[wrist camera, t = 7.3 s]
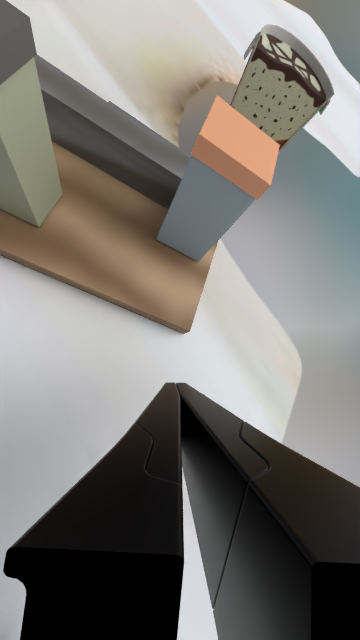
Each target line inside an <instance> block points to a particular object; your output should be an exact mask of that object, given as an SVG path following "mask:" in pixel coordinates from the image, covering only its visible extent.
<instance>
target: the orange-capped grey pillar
mask: <svg viewBox="0 0 360 640" xmlns="http://www.w3.org/2000/svg"><path fill="white" fill-rule="evenodd" d="M279 147H280V145H279V144H278V143H277V142H275V141H274V140H273V139H272V138H270V137H269V136H268V135H267V134H265V133H264V132H263V131H262V130H260V129H259V128H258V127H256V126H255V125H254V124H253V123H251V122H250V121H249V120H248V119H246V118H245V117H244V116H243V115H241V114H240V113H239V112H238V111H236V110H235V109H234V108H233V107H231V106H230V105H229V104H227V103H226V102H225V101H224V100H222V99H221V98H220V97H219V96H217V97H216V99H215V101H214V103H213V105H212V108H211V110H210V112H209V114H208V116H207V119H206V121H205V123H204V125H203V127H202V129H201V131H200V134H199V136H198V138H197V141H196V143H195V145H194V148H193V150H192V153H191V155H192V157H191V159H190V162H189V164H188V166H187V168H186V171H185V173H184V175H183V178H182V180H181V182H180V185H179V187H178V189H177V192H176V194H175V196H174V199H173V201H172V203H171V206H170V208H169V210H168V213H167V215H166V217H165V220H164V222H163V224H162V227H161V229H160V231H159V234H158V236H157V238H156V239H157V240H159V241H161V242H162V243H164V244H166V245H168V246H170V247H172V248H174V249H175V250H177V251H179V252H181V253H183V254H185V255H187V256H188V257H190V258H192V259H194V260H196V261H198V262H199V261H200V260H201V259H202V258H203V256H204V255H205V254H206V253H207V252H208V251H209V250H210V249H211V248H212V247H213V245H214V244H215V243H216V242H217V241H218V240H219V239H220V238H221V237H222V236H223V234H224V233H225V232H226V231H227V230H228V229H229V228H230V227H231V226H232V225H233V223H234V222H235V221H236V220H237V219H238V218H239V217H240V216H241V215H242V213H243V212H244V211H245V210H246V209H247V208H248V207H249V206H250V205H251V204H252V202H253V201H254V200H255V199H257V200H258V199H259V198H260V197H261V195H262V194H263V193H264V192H265V191H266V190H267V189H268V188H269V187H270V186H271V182H272V178H273V173H274V169H275V164H276V159H277V156H278V151H279Z"/></svg>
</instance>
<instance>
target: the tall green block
mask: <svg viewBox="0 0 360 640" xmlns="http://www.w3.org/2000/svg"><path fill="white" fill-rule="evenodd" d="M35 55H37V53H36V48H35V43H34V38H33V33H32V28H31V23H30V18H29V17H28V16H27V15H26V14H24V13H23V12H21V11H20V10H19V9H17V8H16V7H14V6H13V5H11V4H10V3H9V2H7V1H6V0H0V209H2V210H4V211H6V212H8V213H10V214H12V215H15V216H17V217H19V218H21V219H23V220H25V221H27V222H29V223H31V224H33V225H35V226H38V227H39V226H40V225H41V224H42V222H43V221H44V219H45V218H46V217H47V215H48V214H49V213H50V211H51V210H52V208H53V207H54V206H55V204H56V203H57V201H58V200H59V199H60V197H61V196H62V195H63V193H62V189H61V184H60V179H59V174H58V169H57V165H56V160H55V155H54V150H53V145H52V141H51V136H50V131H49V126H48V121H47V116H46V112H45V107H44V102H43V97H42V92H41V88H40V83H39V78H38V73H37V68H36V64H35V59H34V56H35Z"/></svg>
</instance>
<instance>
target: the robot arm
mask: <svg viewBox="0 0 360 640" xmlns="http://www.w3.org/2000/svg"><path fill="white" fill-rule="evenodd" d="M182 467H183V472H184V477H185V481H186V486H187V491H188V495H189V500H190V505H191V510H192V514H193V519H194V524H195V529H196V533H197V538H198V543H199V548H200V552H201V557H202V562H203V566H204V571H205V576H206V581H207V585H208V590H209V595H210V600H211V604H212V608H213V609H214V610H213V614H214V619H215V624H216V629H217V635H218V640H360V487H358V486H356V485H354V484H352V483H351V482H349V481H347V480H345V479H344V478H342V477H340V476H338V475H336V474H335V473H333V472H331V471H329V470H327V469H326V468H324V467H322V466H320V465H318V464H317V463H315V462H313V461H311V460H310V459H308V458H306V457H304V456H302V455H300V454H299V453H297V452H295V451H293V450H291V449H290V448H288V447H286V446H284V445H283V444H281V443H279V442H278V441H276V440H274V439H272V438H271V437H269V436H267V435H266V434H264V433H262V432H261V431H259V430H258V429H256V428H254V427H253V426H251V425H250V424H248V423H247V422H244V421H243V420H241V419H240V418H238V417H237V416H235V415H234V414H232V413H231V412H229V411H228V410H226V409H225V408H223V407H222V406H220V405H218V404H217V403H215V402H214V401H212V400H211V399H209V398H208V397H206V396H205V395H203V394H202V393H200V392H199V391H197V390H195V389H194V388H192V387H191V386H189V385H188V384H186V383H176V384H175V383H165V384H164V386H163V387H162V388H161V390H160V391H159V392H158V393H157V395H156V396H155V397H154V399H153V400H152V401H151V402H150V404H149V405H148V406H147V408H146V409H145V410H144V411H143V413H142V414H141V415H140V417H139V418H138V419H137V420H136V422H135V423H134V424H133V425H132V426H131V428H130V429H129V430H128V431H127V433H126V434H125V435H124V436H123V437H122V438H121V440H120V441H119V442H118V443H117V444H116V445H115V446H114V447H113V448H112V449H111V450H110V451H109V452H108V453H107V454H106V455H105V456H104V457H103V458H102V459H101V460H100V461H99V462H98V463H97V464H96V465H95V466H94V467H93V468H92V469H91V470H90V471H89V472H87V473H86V474H85V475H84V476H83V477H82V478H81V479H80V480H79V481H78V482H77V483H76V484H75V485H74V486H73V487H72V488H71V489H70V490H69V491H68V492H67V493H66V494H65V495H64V496H63V497H62V498H61V499H60V500H59V501H58V502H57V503H56V504H55V505H53V506H52V507H51V508H50V509H49V510H48V511H47V512H46V513H45V514H44V515H43V516H42V517H41V518H40V519H39V520H38V521H37V522H36V523H35V524H34V525H33V526H32V527H31V528H30V529H29V530H28V531H27V532H26V533H25V534H24V535H23V536H22V537H21V538H19V539H18V540H17V541H16V542H15V543H14V544H13V545H12V546H11V547H10V548H9V549H8V550H7V553H6V557H5V563H4V568H3V571H4V573H5V575H6V576H8V577H11V578H16V579H18V580H19V581H21V582H22V583H23V584H24V586H25V588H26V602H25V609H24V616H23V623H22V630H21V637H20V640H177V631H178V621H179V610H180V600H181V589H182V579H183V568H184V541H183V493H182Z"/></svg>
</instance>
